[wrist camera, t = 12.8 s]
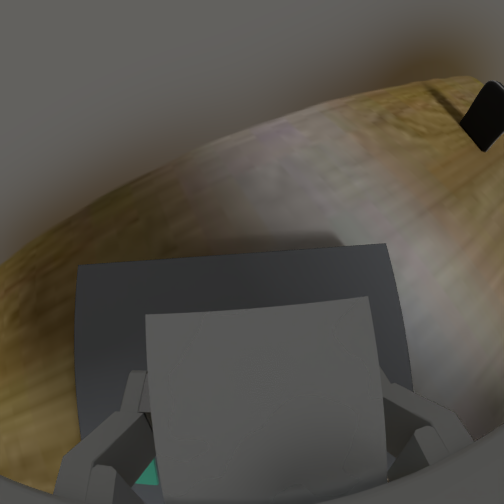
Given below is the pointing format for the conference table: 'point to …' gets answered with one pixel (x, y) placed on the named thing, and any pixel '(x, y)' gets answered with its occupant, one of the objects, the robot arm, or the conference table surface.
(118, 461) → the robot arm
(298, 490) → the peg
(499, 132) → the battery charger
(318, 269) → the docking mount
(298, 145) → the conference table surface
